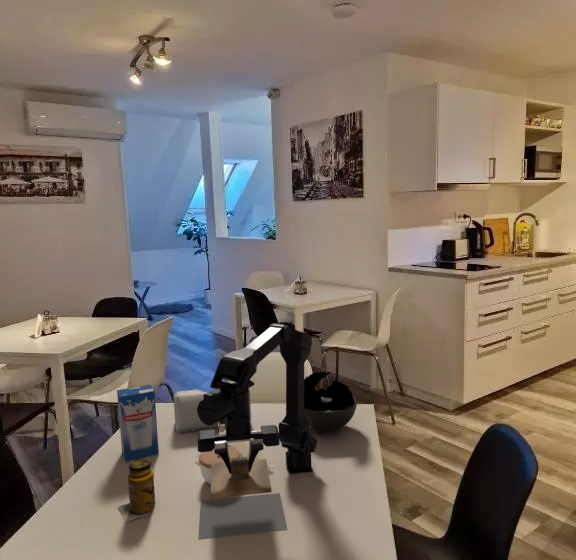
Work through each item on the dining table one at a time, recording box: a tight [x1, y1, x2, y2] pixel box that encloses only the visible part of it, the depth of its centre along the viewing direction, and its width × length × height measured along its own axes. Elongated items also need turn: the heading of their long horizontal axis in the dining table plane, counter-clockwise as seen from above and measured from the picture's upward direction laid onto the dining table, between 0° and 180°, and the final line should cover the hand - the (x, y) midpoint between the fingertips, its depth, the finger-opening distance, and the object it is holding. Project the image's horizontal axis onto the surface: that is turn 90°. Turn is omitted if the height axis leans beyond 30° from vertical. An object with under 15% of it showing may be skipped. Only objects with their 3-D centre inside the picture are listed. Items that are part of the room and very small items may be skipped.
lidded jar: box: [198, 445, 241, 485], centre depth 137 cm, size 11×11×9 cm
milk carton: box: [116, 384, 160, 463], centre depth 153 cm, size 10×6×20 cm, turn 115°
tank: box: [173, 389, 252, 434], centre depth 171 cm, size 25×16×12 cm, turn 105°
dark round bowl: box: [304, 371, 358, 433], centre depth 167 cm, size 20×20×19 cm
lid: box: [210, 456, 272, 499], centre depth 121 cm, size 14×14×4 cm
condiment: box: [117, 458, 156, 523], centre depth 126 cm, size 7×8×12 cm
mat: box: [197, 492, 288, 540], centre depth 123 cm, size 20×15×1 cm
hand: (239, 472), depth 121 cm, fingers closed on lid, 4 cm apart
